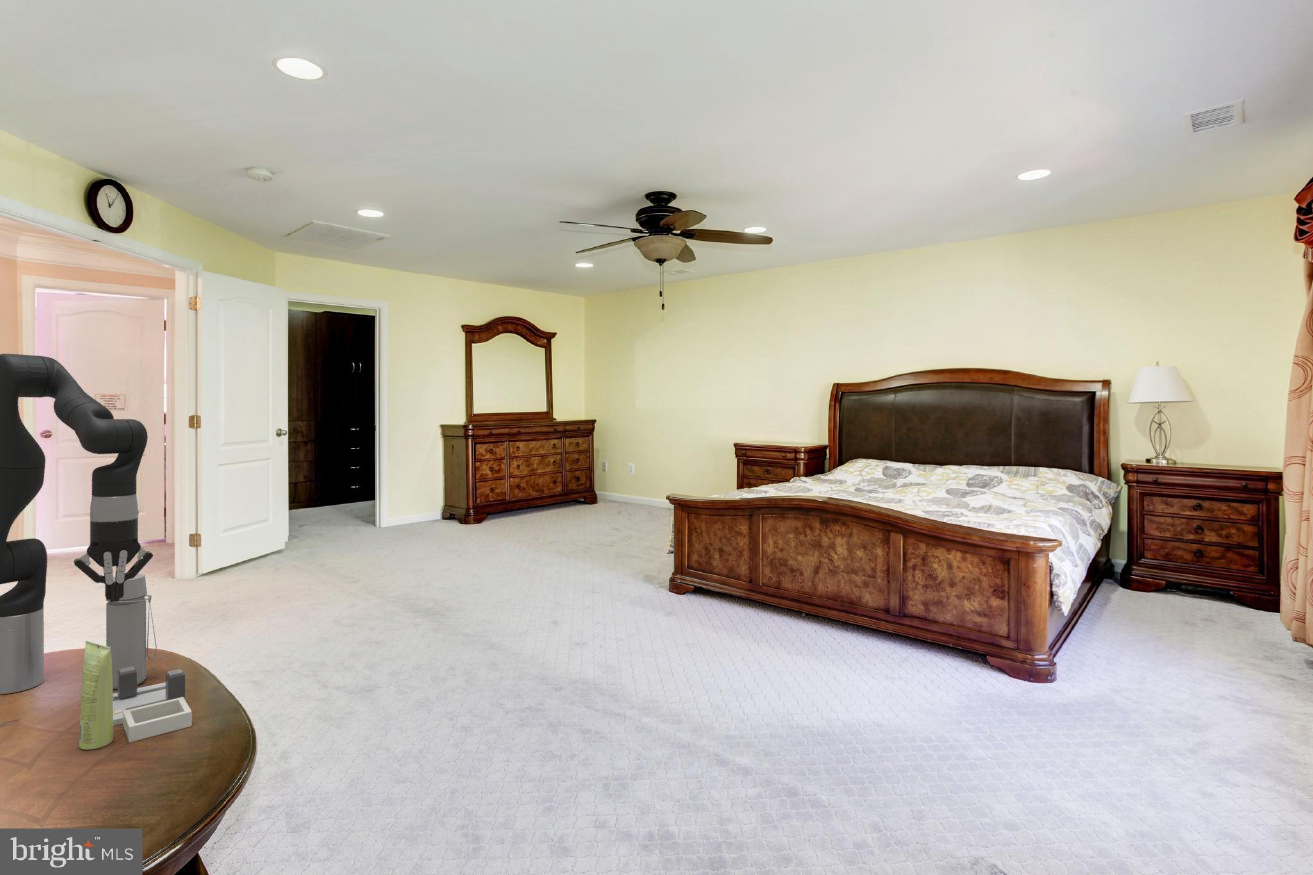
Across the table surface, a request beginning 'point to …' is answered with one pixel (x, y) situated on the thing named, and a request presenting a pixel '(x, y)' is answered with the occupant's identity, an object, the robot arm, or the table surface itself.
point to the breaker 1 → (126, 682)
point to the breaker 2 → (175, 684)
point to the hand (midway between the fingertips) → (114, 600)
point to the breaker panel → (138, 700)
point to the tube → (96, 698)
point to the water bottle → (129, 629)
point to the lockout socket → (156, 719)
